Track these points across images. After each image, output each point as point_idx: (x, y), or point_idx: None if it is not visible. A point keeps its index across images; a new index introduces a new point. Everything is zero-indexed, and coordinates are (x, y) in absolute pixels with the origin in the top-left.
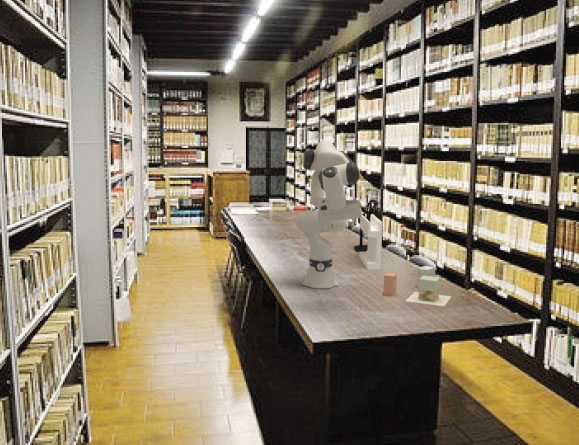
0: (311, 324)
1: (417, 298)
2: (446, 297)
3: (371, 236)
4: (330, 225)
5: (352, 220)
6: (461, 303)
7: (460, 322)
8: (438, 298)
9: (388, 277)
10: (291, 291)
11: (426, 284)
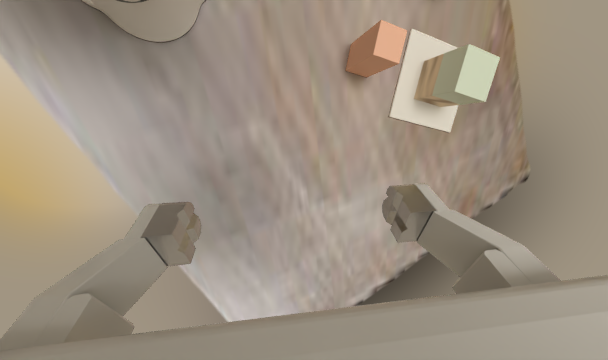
0: (240, 311)
1: (413, 89)
2: None
3: None
4: (154, 280)
5: (457, 286)
6: None
7: (455, 207)
8: None
9: (381, 60)
10: (81, 95)
11: (457, 97)
